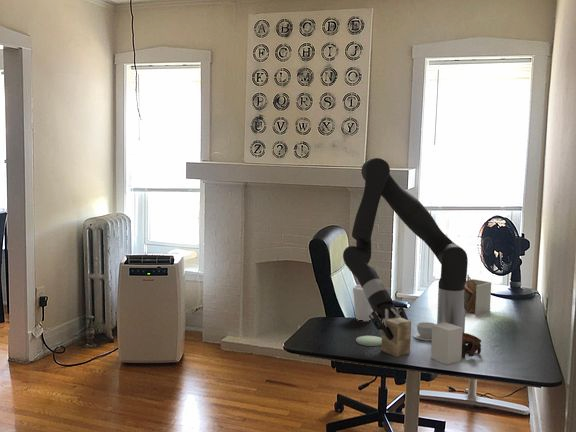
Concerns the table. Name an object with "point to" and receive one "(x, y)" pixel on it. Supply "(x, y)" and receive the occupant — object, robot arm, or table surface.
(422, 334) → the teacup
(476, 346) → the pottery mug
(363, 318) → the foam cup
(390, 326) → the tan cardboard box
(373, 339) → the felt mat
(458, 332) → the tall cream pedestal
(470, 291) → the two-tone wooden box
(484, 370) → the table surface
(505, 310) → the table surface
